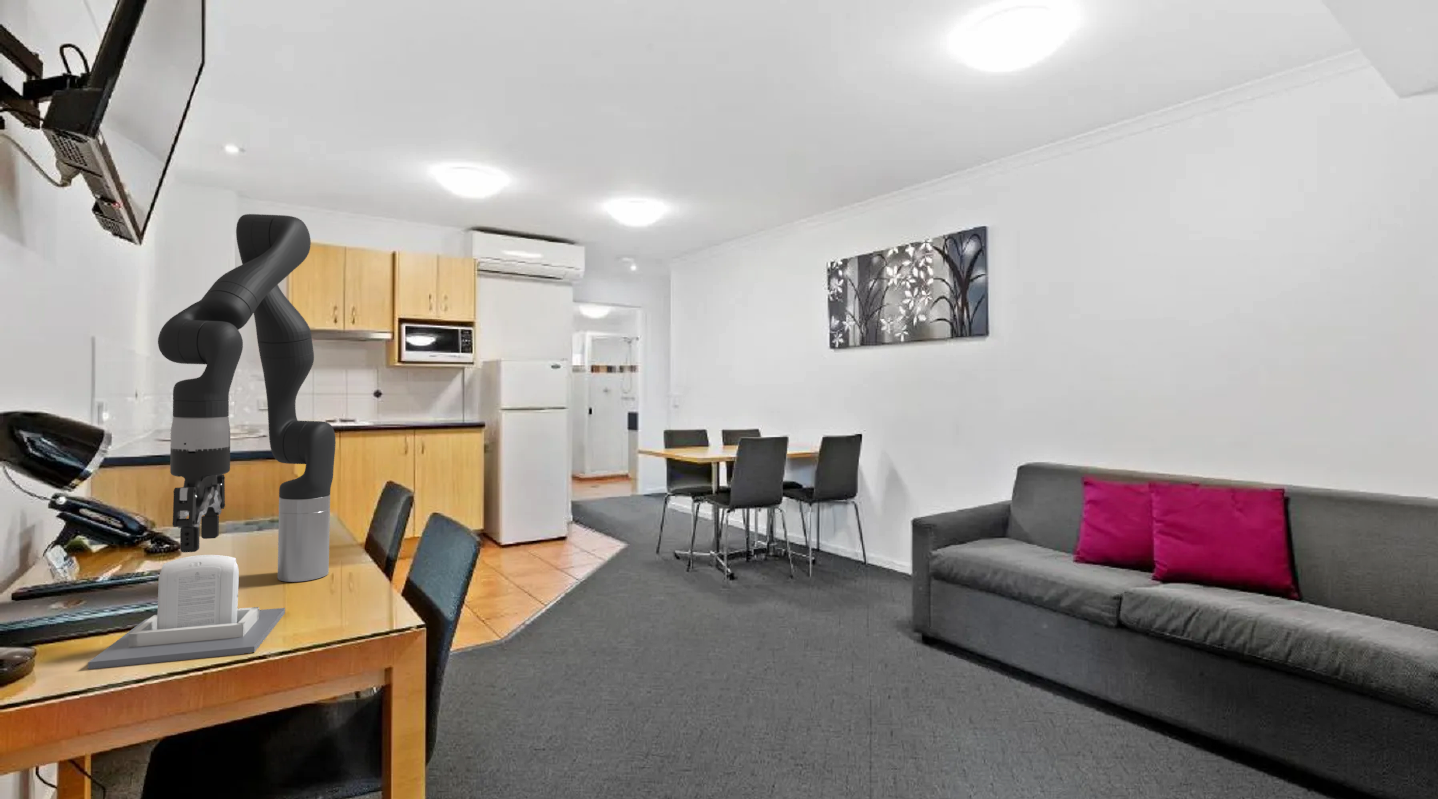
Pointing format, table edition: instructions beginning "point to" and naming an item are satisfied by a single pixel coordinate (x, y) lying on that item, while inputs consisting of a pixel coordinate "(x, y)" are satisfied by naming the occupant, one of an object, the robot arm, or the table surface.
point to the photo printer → (198, 592)
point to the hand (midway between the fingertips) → (200, 544)
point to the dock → (189, 640)
